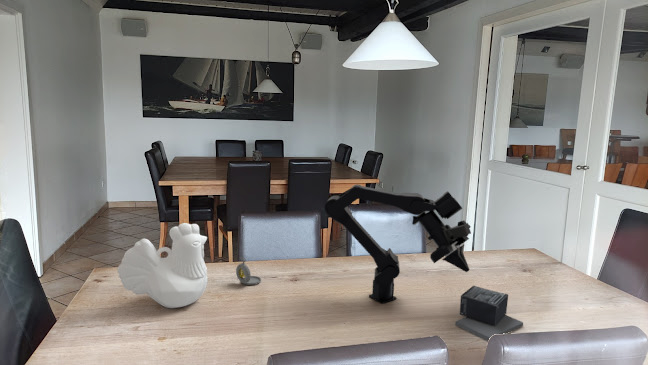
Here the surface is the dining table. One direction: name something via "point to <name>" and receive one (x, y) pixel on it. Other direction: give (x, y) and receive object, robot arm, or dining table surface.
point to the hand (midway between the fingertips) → (468, 271)
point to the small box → (483, 305)
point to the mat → (488, 326)
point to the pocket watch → (246, 274)
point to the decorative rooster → (167, 268)
